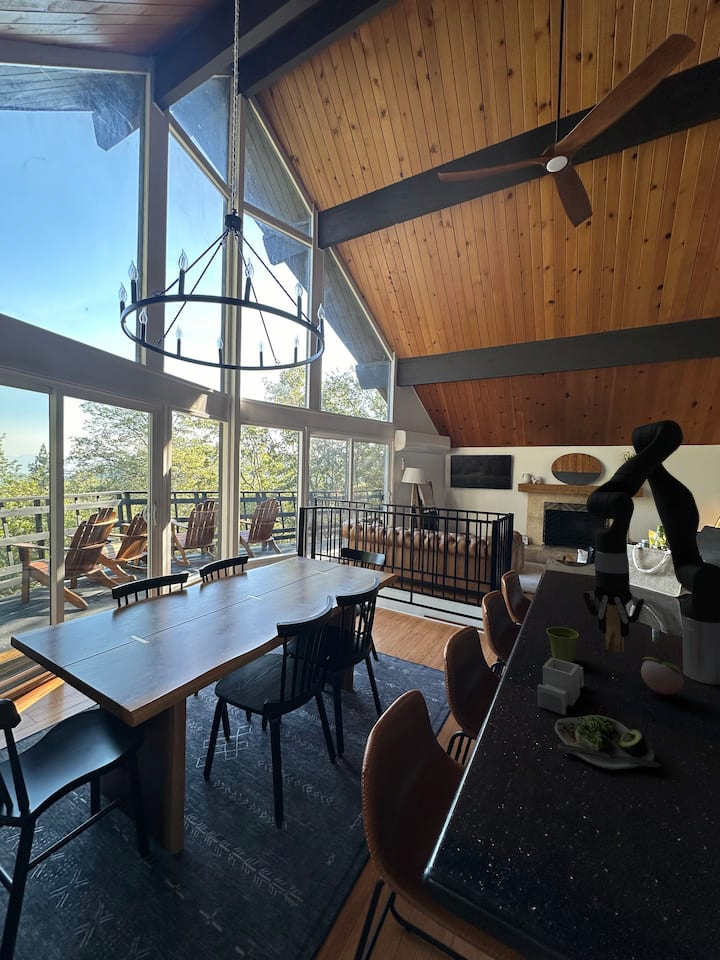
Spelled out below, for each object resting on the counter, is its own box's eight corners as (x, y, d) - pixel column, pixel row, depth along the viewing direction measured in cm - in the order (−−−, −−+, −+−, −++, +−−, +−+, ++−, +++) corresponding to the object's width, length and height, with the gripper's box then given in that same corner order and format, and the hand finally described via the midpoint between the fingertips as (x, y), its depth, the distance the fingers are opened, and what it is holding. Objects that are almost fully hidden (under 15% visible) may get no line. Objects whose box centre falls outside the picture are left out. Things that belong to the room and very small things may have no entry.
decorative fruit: (636, 693, 108) (635, 656, 108) (645, 683, 113) (644, 647, 113) (679, 708, 100) (679, 668, 100) (687, 696, 106) (687, 658, 106)
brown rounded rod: (625, 648, 104) (623, 602, 104) (622, 653, 101) (620, 606, 101) (607, 644, 107) (605, 599, 107) (604, 649, 104) (602, 603, 104)
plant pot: (546, 662, 127) (545, 635, 127) (547, 650, 135) (547, 625, 135) (579, 668, 122) (579, 640, 122) (579, 655, 131) (578, 629, 130)
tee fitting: (585, 686, 112) (584, 658, 112) (566, 716, 98) (565, 683, 98) (557, 678, 117) (556, 650, 117) (536, 705, 103) (535, 674, 103)
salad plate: (582, 783, 77) (582, 760, 77) (533, 726, 95) (533, 707, 95) (674, 774, 79) (674, 751, 79) (610, 720, 97) (609, 701, 97)
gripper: (647, 569, 102) (649, 636, 102) (584, 563, 112) (586, 624, 112) (643, 575, 97) (645, 646, 97) (577, 568, 106) (580, 632, 106)
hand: (614, 634), depth 104 cm, fingers closed on brown rounded rod, 4 cm apart
